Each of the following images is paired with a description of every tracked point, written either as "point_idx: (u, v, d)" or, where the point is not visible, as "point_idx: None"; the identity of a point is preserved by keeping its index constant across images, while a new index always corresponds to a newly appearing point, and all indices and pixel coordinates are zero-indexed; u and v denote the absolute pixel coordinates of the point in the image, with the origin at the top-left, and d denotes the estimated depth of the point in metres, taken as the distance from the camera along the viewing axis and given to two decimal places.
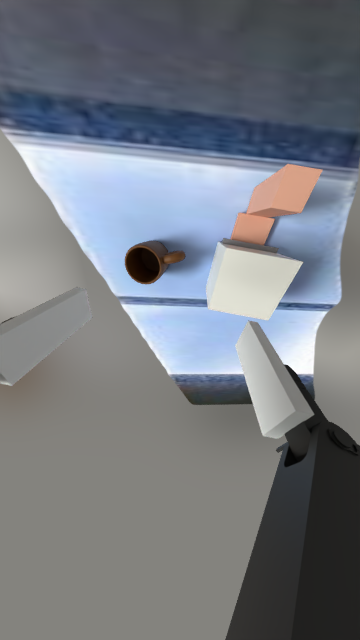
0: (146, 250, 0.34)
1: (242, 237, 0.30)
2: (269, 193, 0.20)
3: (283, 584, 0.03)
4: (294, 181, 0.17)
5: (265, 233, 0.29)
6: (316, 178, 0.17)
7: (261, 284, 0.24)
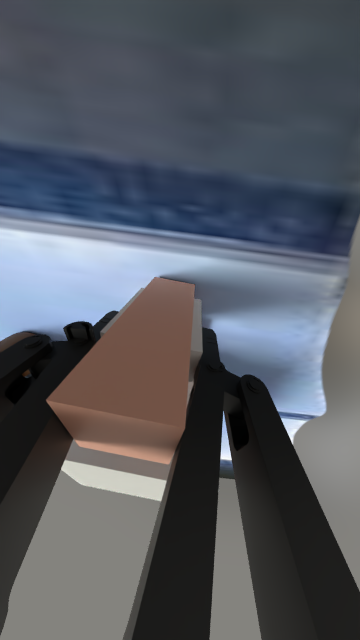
0: None
1: None
2: None
3: (168, 488, 0.04)
4: (105, 428, 0.05)
5: None
6: (174, 436, 0.04)
7: (151, 488, 0.12)
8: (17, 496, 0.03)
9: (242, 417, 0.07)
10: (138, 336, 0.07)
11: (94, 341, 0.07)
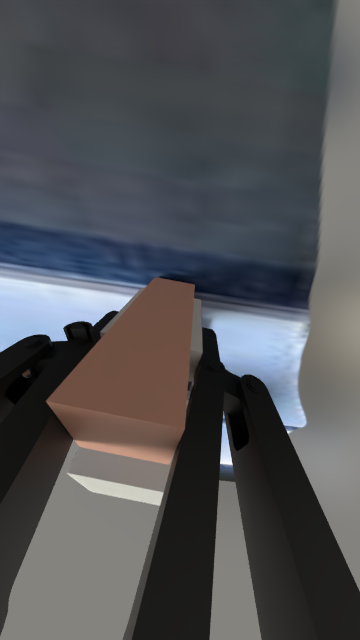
0: None
1: None
2: None
3: (168, 488, 0.04)
4: (105, 429, 0.05)
5: None
6: (174, 436, 0.04)
7: (149, 496, 0.15)
8: (17, 496, 0.03)
9: (242, 417, 0.07)
10: (138, 337, 0.07)
11: (94, 341, 0.07)
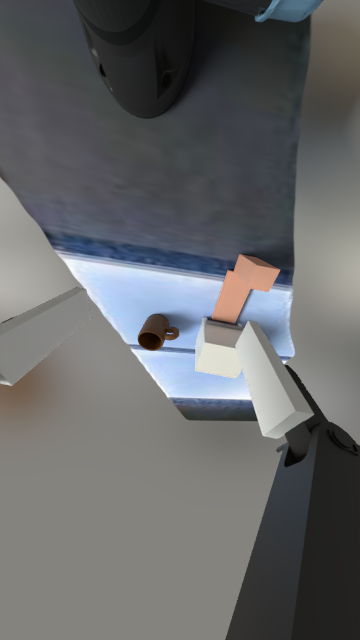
0: None
1: (231, 287, 0.37)
2: (246, 274, 0.27)
3: (283, 584, 0.03)
4: (262, 274, 0.24)
5: None
6: (276, 274, 0.24)
7: (228, 360, 0.37)
8: None
9: None
10: (258, 262, 0.26)
11: None
